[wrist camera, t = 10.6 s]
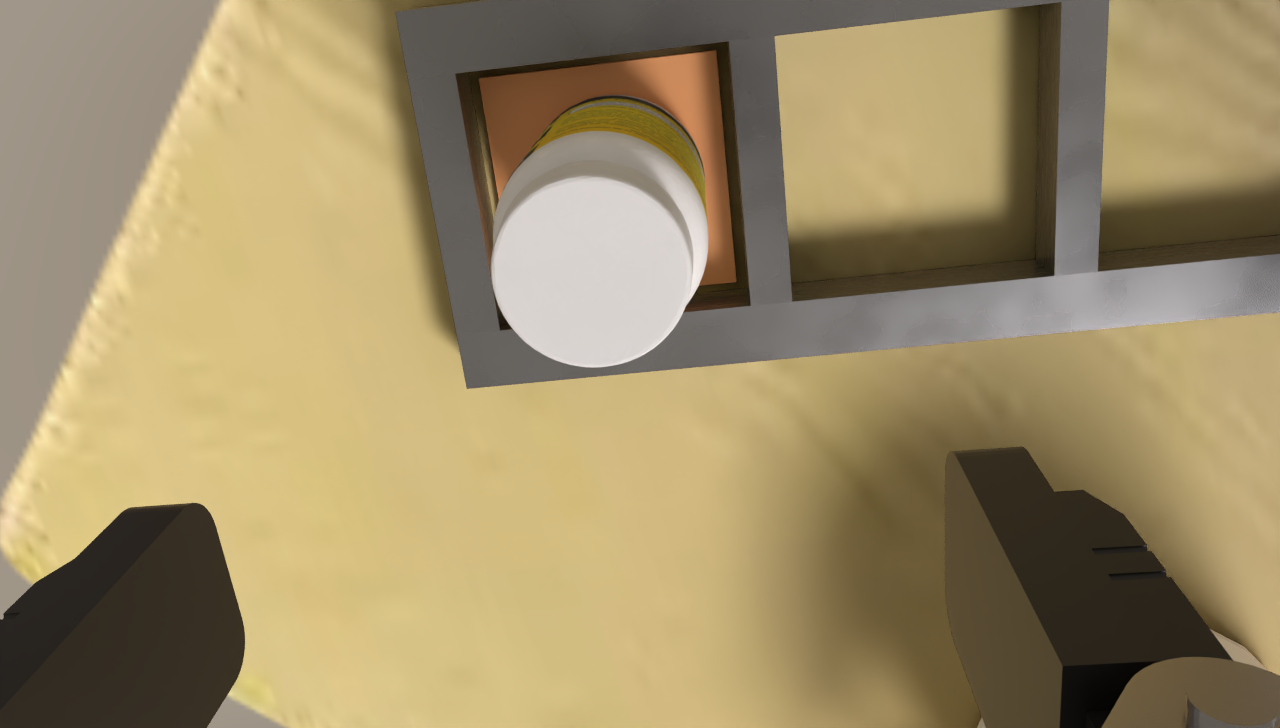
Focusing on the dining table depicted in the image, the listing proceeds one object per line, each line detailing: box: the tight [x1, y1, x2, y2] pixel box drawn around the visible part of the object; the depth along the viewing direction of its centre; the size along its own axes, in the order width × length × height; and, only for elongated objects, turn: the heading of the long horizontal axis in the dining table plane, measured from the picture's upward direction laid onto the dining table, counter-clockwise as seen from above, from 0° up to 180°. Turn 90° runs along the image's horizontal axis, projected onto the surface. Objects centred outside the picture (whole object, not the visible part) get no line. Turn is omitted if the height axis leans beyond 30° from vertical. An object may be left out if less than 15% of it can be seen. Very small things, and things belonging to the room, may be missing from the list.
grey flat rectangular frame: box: [395, 0, 1280, 389], centre depth 27 cm, size 25×10×2 cm, turn 97°
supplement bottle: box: [491, 95, 708, 367], centre depth 24 cm, size 5×5×8 cm
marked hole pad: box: [479, 50, 736, 286], centre depth 29 cm, size 6×6×1 cm
